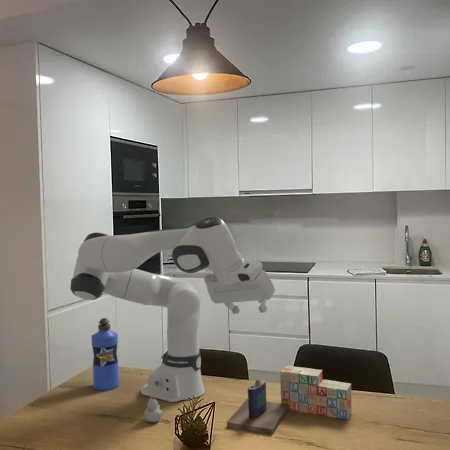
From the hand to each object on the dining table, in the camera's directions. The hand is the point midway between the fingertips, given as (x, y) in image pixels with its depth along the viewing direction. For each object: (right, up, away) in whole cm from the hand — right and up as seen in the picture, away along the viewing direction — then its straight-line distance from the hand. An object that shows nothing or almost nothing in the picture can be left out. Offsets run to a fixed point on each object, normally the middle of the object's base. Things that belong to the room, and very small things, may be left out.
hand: (250, 312), depth 138 cm
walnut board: (+3, -35, +11) cm, 37 cm away
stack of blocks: (+22, -34, +16) cm, 44 cm away
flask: (+3, -33, +11) cm, 35 cm away
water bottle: (-51, -35, +41) cm, 74 cm away
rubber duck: (-29, -36, +11) cm, 47 cm away
